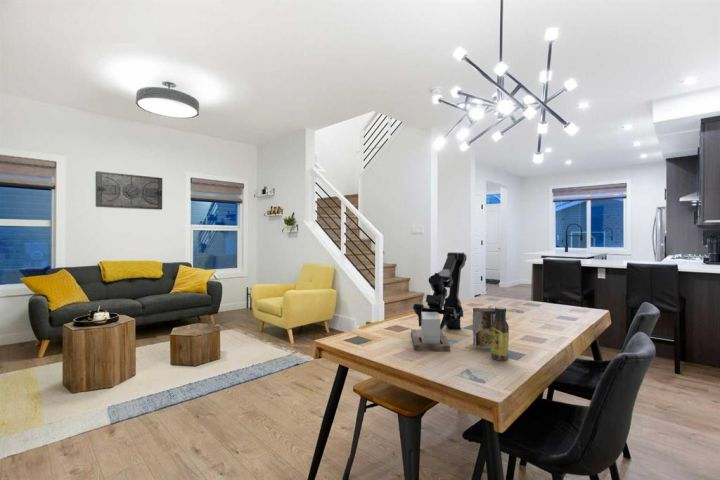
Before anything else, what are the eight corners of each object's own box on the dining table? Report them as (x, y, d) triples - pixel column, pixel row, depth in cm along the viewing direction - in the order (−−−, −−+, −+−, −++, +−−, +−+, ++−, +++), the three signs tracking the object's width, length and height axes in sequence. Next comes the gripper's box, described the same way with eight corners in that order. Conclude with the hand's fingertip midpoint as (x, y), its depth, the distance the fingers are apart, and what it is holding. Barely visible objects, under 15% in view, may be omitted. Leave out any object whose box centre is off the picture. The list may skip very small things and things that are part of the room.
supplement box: (437, 337, 158) (438, 311, 156) (439, 346, 151) (440, 319, 148) (420, 337, 159) (421, 311, 156) (422, 346, 152) (422, 318, 149)
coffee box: (493, 344, 155) (494, 307, 155) (498, 349, 149) (498, 311, 149) (472, 344, 156) (472, 307, 156) (475, 348, 150) (475, 310, 149)
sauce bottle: (488, 355, 141) (488, 305, 141) (503, 355, 142) (503, 305, 141) (495, 361, 135) (496, 309, 134) (511, 361, 136) (512, 308, 135)
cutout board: (441, 334, 171) (441, 330, 171) (449, 351, 147) (449, 346, 147) (411, 333, 172) (411, 329, 172) (414, 350, 148) (414, 345, 148)
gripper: (414, 285, 163) (404, 314, 154) (455, 289, 153) (446, 320, 144) (421, 299, 170) (411, 328, 161) (460, 304, 160) (452, 334, 151)
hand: (429, 327), depth 154 cm, fingers closed on supplement box, 9 cm apart
